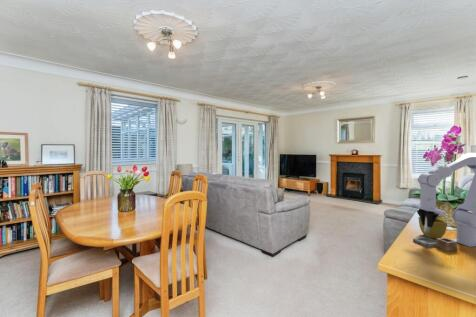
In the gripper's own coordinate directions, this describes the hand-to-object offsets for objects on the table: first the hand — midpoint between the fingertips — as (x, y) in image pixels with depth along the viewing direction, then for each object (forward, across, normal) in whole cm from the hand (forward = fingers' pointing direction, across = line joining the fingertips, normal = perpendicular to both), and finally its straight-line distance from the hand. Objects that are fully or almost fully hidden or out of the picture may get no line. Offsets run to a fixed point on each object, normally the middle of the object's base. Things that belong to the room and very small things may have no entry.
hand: (427, 226), depth 110 cm
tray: (+9, 0, 0) cm, 9 cm away
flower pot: (+9, -6, +11) cm, 16 cm away
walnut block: (+9, +6, +3) cm, 11 cm away
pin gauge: (+3, 0, 0) cm, 3 cm away
